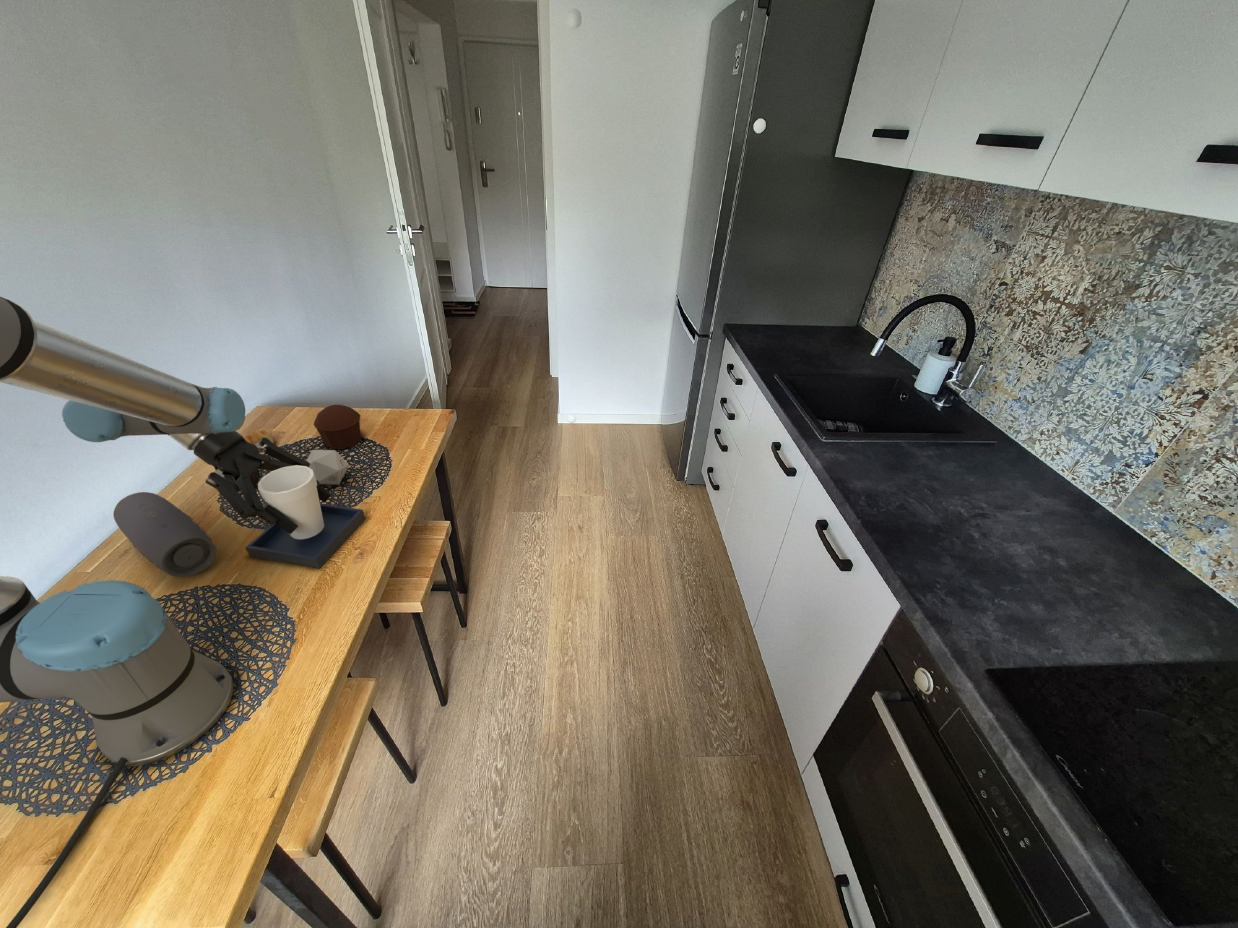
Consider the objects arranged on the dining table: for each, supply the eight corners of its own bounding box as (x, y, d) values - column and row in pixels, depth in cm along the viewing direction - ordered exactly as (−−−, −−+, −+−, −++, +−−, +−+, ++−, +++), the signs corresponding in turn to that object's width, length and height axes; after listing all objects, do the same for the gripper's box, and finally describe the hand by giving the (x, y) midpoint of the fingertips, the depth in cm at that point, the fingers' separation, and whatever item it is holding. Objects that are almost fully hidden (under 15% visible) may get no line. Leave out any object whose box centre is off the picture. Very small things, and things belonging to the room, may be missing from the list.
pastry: (237, 459, 126) (231, 447, 124) (228, 450, 130) (222, 437, 127) (277, 445, 132) (272, 433, 130) (267, 436, 136) (262, 424, 133)
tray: (319, 568, 97) (315, 559, 96) (250, 556, 99) (244, 547, 98) (365, 518, 110) (362, 509, 108) (303, 508, 112) (299, 499, 110)
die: (324, 499, 116) (343, 464, 114) (288, 479, 114) (307, 443, 112) (342, 488, 124) (360, 456, 122) (309, 470, 123) (327, 436, 121)
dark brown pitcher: (271, 478, 120) (255, 443, 115) (246, 496, 114) (228, 461, 108) (244, 474, 121) (228, 439, 116) (219, 492, 115) (200, 457, 109)
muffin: (315, 438, 136) (303, 406, 130) (357, 426, 142) (347, 394, 136) (329, 457, 129) (318, 424, 123) (373, 443, 135) (363, 410, 129)
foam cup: (341, 525, 104) (323, 476, 97) (298, 551, 98) (274, 500, 90) (315, 508, 108) (296, 460, 101) (272, 532, 102) (247, 482, 94)
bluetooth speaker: (230, 562, 98) (208, 524, 92) (174, 592, 91) (147, 553, 85) (179, 517, 107) (156, 481, 102) (126, 542, 101) (98, 504, 95)
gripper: (160, 460, 82) (279, 543, 89) (261, 400, 100) (353, 474, 107) (148, 481, 86) (264, 559, 93) (247, 420, 104) (338, 490, 111)
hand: (311, 513), depth 100 cm, fingers closed on foam cup, 9 cm apart
